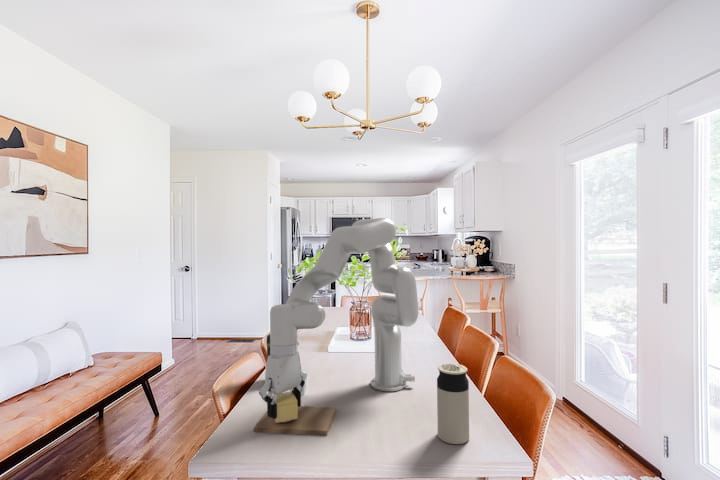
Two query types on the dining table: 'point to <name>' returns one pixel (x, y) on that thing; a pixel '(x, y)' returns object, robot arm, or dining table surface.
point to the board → (300, 422)
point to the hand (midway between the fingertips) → (284, 410)
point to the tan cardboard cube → (286, 407)
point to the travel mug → (453, 403)
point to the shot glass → (304, 385)
